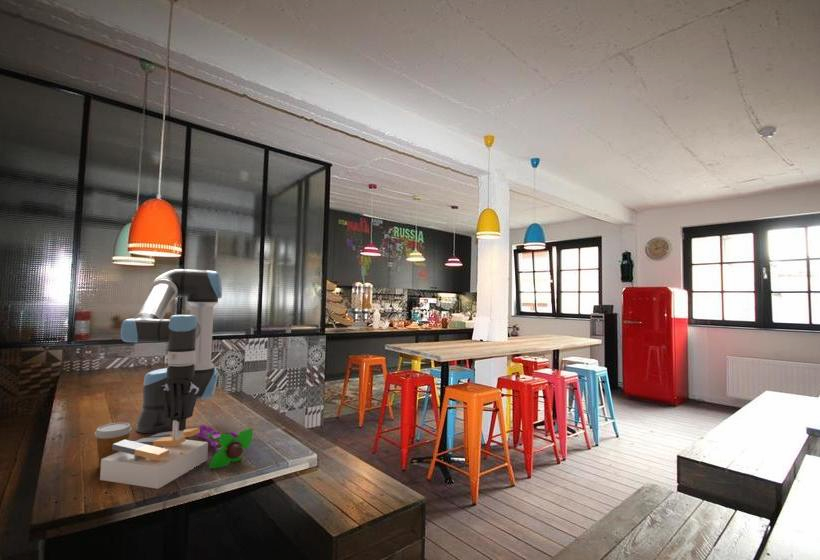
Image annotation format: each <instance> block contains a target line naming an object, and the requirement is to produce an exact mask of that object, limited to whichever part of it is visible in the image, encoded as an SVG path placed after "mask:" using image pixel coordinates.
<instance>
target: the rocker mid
mask: <svg viewBox="0 0 820 560" xmlns="http://www.w3.org/2000/svg"><path fill="white" fill-rule="evenodd" d="M185 439H186V437H185V436H183V438H181V439H179V440H172V437H154V438H149V437H141V438H139V439H137V440H134V442H138V443H143V444H147V445H151V446H156V447H158V446H176V445H178V444H180V443H182V442H184V441H185Z"/></svg>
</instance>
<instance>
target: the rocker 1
mask: <svg viewBox="0 0 820 560" xmlns="http://www.w3.org/2000/svg"><path fill="white" fill-rule="evenodd" d="M134 441H135V440H134ZM134 441H133V440H129V439H128V440H122V441H120V442H117V443H114V444H113V446H112V450H116V451H120V452H124V453H129V454H133V455H137V456H141V457H146V458H150V459H154V460H159V459H161V458H163V457H165V456H167V455H169V449H164V448H160V447H156V446H151V445H147V444H143V443H138V442H134Z"/></svg>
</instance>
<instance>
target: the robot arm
mask: <svg viewBox="0 0 820 560" xmlns="http://www.w3.org/2000/svg"><path fill="white" fill-rule="evenodd" d="M222 297H223V288H222V279H221V275H220V273H219V272H218V271H215V270H209V269H204V270H203V269H183V268H179V269H178V268H176V269H172V270H168V271H166V272H164V273H162V274H160V275H158V277H156V278H155V279H154V280H153V281H152V282H151V284H150V286H149V294H148V296H147V297H146V299H145V300H144V303H143V304H142V307H141V308H140V310H139V311H138V314H137V315H136V316H135V318H127V319H124V320H123V321H122V323H121V326H120V339H121V340H122V341H123V342H125V343H135V344H136V343H137V344H138V343H167V344H168V348H167V364H168V366H166V367H165V368H158V369H154V370H152V371H149V372H147V373H146V374H145V375H144V378H143V384H142V386H143V387H142V388H143V392H142V406H141V407H142V409H141V412H140V414H139V418H138V421H137V422H136V424H135V431H136V432H137V433H142V434H158V433H163V432H170V431H172V440H179V439H181V438H183V436H184V430H185V429H187V427H186V426H187V419H190V418H192V417H193V414H194V409H195V405H196V402H197V400H204V399H210V398H212V397H214V394H215V390H216V385H217V381H218V376H219V370H218V369H215V367H216V366H215V365H214V364H213V362H212V350H213V349H212V346H213V345H212V344H213V328H214V323H213V322H214V309H215V308H214V307H215V306H216V305H217V304H218V302H219V299H222ZM175 298H186V303H187V304H189V306H190V314H174V315H173V314H172V315H171V316H170V317H169V318H168V319H167V318H166V319H165V318H164V317H165V314H166V312H167V310H168V308H169V306H170V304H171V302H172V301H173V300H175Z"/></svg>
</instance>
